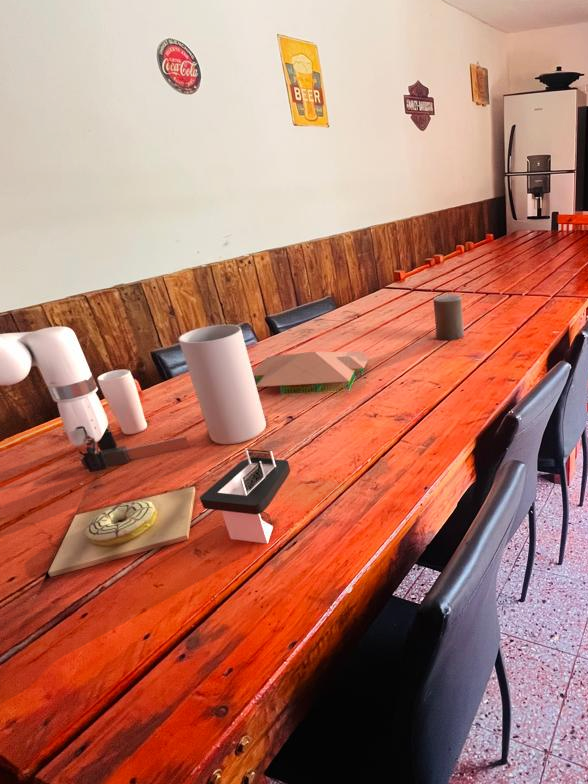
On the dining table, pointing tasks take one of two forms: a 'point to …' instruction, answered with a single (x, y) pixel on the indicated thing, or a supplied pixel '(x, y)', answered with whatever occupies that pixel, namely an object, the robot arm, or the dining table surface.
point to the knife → (140, 451)
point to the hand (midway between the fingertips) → (104, 459)
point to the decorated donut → (121, 523)
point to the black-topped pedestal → (248, 495)
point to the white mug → (123, 400)
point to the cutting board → (165, 531)
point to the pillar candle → (448, 317)
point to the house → (310, 369)
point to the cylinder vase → (224, 383)
